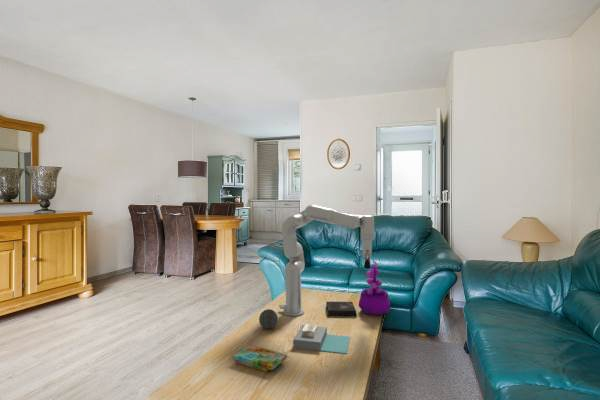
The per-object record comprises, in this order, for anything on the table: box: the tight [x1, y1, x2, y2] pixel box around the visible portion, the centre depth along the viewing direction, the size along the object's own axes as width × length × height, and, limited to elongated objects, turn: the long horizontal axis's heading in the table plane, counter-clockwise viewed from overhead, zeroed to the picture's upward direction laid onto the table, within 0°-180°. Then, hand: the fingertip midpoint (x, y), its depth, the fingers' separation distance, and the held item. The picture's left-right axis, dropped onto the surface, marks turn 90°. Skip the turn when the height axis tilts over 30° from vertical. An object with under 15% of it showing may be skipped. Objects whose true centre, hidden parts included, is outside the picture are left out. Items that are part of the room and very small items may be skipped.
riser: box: [292, 324, 328, 352], centre depth 162 cm, size 13×18×4 cm
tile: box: [302, 323, 318, 337], centre depth 162 cm, size 6×8×2 cm
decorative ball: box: [258, 308, 279, 330], centre depth 178 cm, size 10×10×10 cm
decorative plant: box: [358, 263, 391, 316], centre depth 201 cm, size 19×18×30 cm
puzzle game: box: [232, 344, 289, 373], centre depth 141 cm, size 12×5×20 cm
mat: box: [320, 333, 351, 355], centre depth 159 cm, size 12×18×1 cm, turn 166°
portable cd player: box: [325, 301, 358, 318], centre depth 203 cm, size 16×17×4 cm
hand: (367, 266), depth 190 cm, fingers open, 9 cm apart
